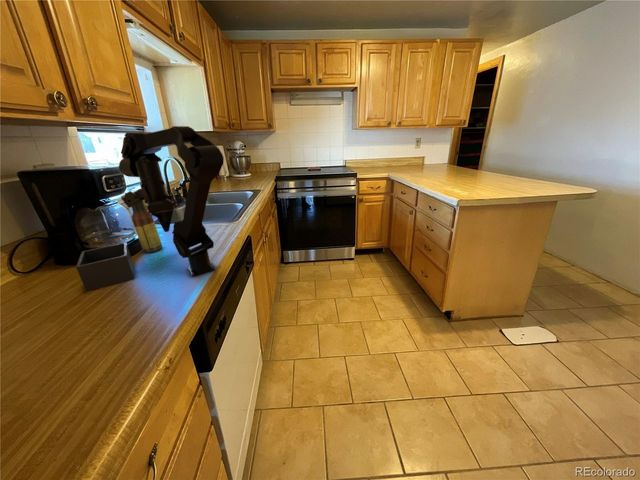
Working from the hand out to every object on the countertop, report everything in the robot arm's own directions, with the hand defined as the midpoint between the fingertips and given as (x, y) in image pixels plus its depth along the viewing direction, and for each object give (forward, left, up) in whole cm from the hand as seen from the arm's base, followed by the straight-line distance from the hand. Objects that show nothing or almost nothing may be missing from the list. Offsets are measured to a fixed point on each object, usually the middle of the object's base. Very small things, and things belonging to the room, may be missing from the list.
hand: (164, 227), depth 84 cm
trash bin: (+2, +17, -12) cm, 21 cm away
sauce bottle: (+17, +5, -12) cm, 22 cm away
